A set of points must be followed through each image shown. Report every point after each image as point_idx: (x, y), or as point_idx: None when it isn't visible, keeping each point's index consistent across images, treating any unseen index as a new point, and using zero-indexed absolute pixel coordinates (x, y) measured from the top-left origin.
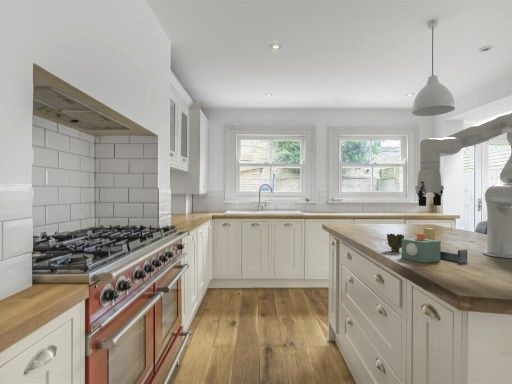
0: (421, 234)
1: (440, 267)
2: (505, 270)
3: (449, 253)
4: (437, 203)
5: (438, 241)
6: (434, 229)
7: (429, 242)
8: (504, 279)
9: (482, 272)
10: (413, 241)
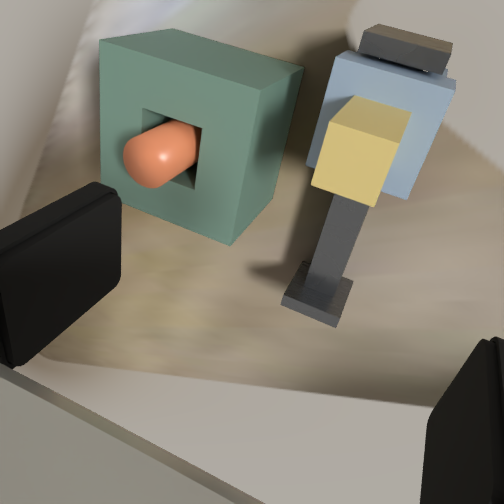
0: (129, 174)
1: (156, 226)
2: (305, 388)
3: (318, 242)
4: (444, 420)
5: (214, 238)
6: (368, 203)
7: (144, 210)
8: (180, 371)
9: (209, 333)
10: (103, 132)
